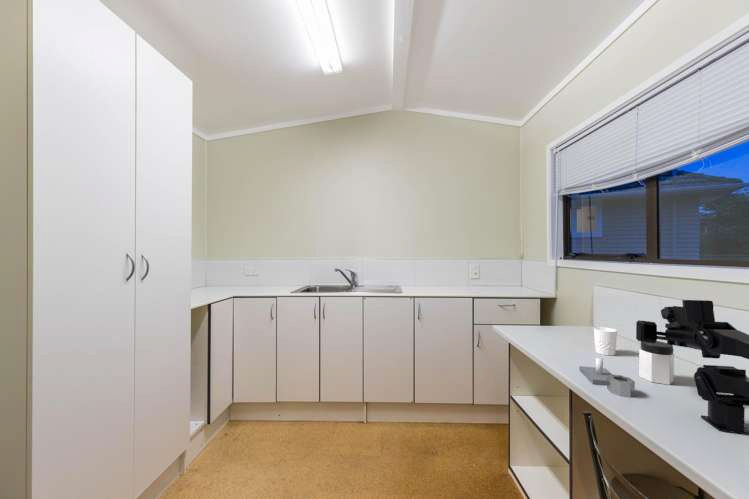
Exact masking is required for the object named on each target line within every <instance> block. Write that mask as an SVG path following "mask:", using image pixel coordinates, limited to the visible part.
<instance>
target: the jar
mask: <svg viewBox="0 0 749 499" xmlns="http://www.w3.org/2000/svg"><path fill="white" fill-rule="evenodd" d="M638 351H639V356H638V357H639V362H638V363H639V367H638V368H639V369H638V370H639V372H638V374H639V375H638V376H639V377H640V378H641V379H644V380H646V381H647V382H650V383H655V384H662V385H668V386H669V385H671V384H673V383H674V382H675V353H674V345H668V344H667V342H664V341H658V340H657V341H656V342H655V343H649V342H642V341H640V348H639V350H638Z"/></svg>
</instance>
